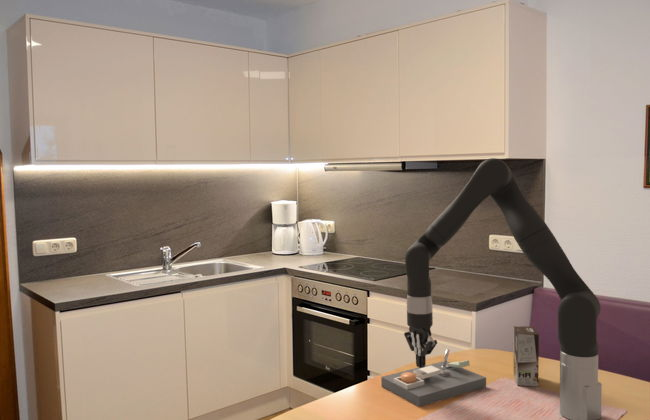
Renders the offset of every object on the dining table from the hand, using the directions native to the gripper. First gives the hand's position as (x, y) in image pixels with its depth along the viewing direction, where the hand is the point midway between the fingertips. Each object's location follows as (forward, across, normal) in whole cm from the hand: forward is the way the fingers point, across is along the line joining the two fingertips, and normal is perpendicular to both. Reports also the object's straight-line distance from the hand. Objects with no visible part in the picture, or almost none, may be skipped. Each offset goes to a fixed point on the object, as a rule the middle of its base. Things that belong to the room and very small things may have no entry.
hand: (420, 366), depth 166 cm
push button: (+4, 0, +4) cm, 6 cm away
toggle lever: (+2, 0, -9) cm, 9 cm away
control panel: (+7, 0, -5) cm, 9 cm away
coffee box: (+8, -12, -32) cm, 35 cm away
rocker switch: (+3, 0, -2) cm, 4 cm away
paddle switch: (+3, 0, -15) cm, 16 cm away
